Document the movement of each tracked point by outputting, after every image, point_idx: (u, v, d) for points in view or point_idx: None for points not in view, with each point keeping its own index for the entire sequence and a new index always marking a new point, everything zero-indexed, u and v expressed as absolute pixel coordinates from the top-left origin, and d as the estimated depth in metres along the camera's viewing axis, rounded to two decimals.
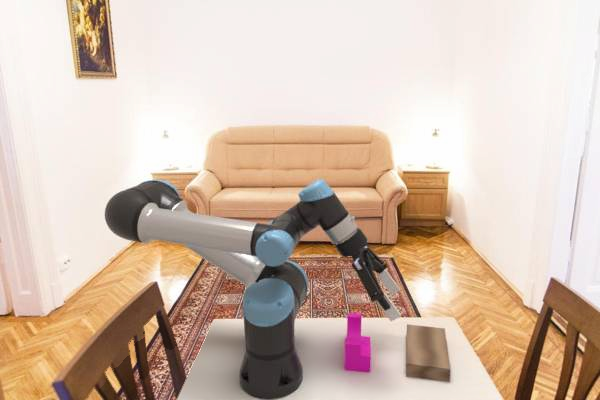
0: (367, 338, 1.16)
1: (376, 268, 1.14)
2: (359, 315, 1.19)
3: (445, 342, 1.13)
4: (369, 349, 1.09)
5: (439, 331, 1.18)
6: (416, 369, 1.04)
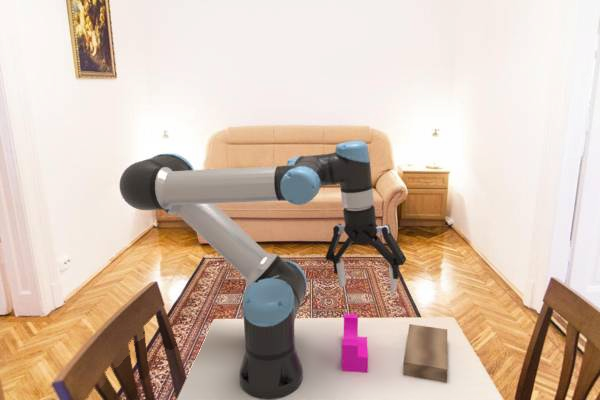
0: (364, 338, 1.16)
1: (341, 255, 1.10)
2: (355, 315, 1.19)
3: (446, 343, 1.12)
4: (366, 349, 1.09)
5: (442, 331, 1.18)
6: (413, 368, 1.05)
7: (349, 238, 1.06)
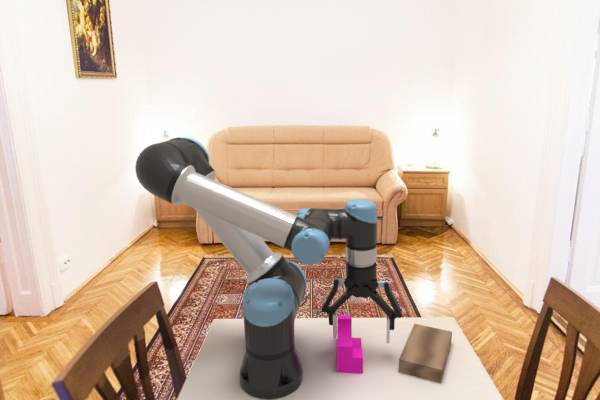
0: (358, 339, 1.16)
1: None
2: (349, 316, 1.19)
3: (447, 344, 1.12)
4: (361, 350, 1.09)
5: (446, 333, 1.17)
6: (408, 365, 1.06)
7: (350, 292, 1.09)
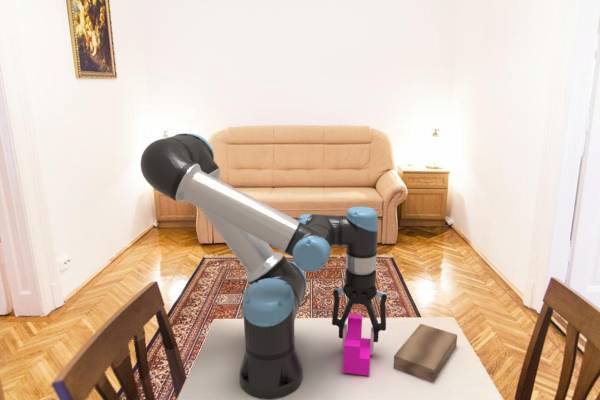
0: (368, 340, 1.14)
1: (346, 318, 1.13)
2: (360, 316, 1.17)
3: (447, 346, 1.11)
4: (369, 351, 1.07)
5: (450, 335, 1.16)
6: (402, 363, 1.07)
7: (351, 300, 1.10)
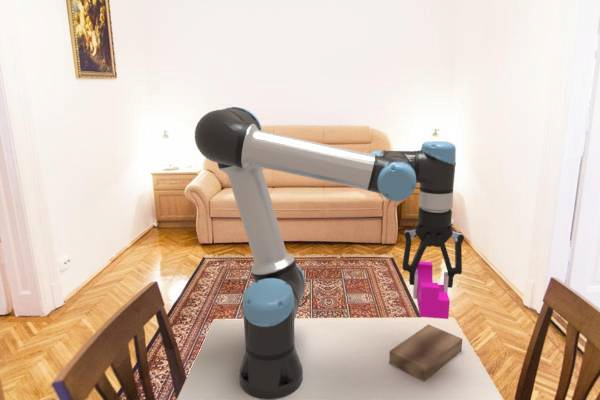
0: (440, 286, 1.08)
1: None
2: (429, 263, 1.11)
3: (447, 349, 1.10)
4: (446, 294, 1.01)
5: (454, 339, 1.14)
6: (397, 359, 1.08)
7: (424, 242, 1.04)
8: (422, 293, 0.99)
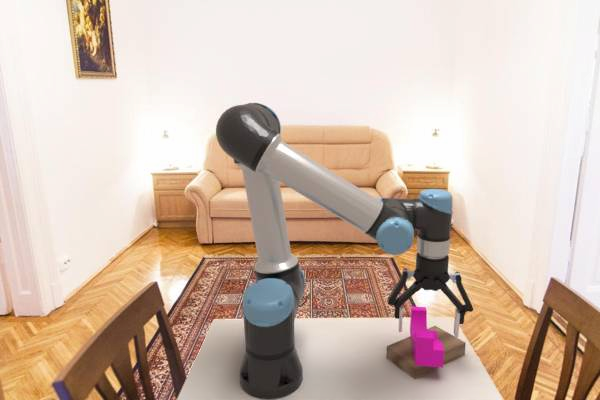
0: (434, 332, 1.12)
1: None
2: (424, 308, 1.15)
3: (446, 350, 1.09)
4: (440, 343, 1.05)
5: (457, 342, 1.13)
6: (392, 354, 1.10)
7: (420, 284, 1.06)
8: (417, 343, 1.02)
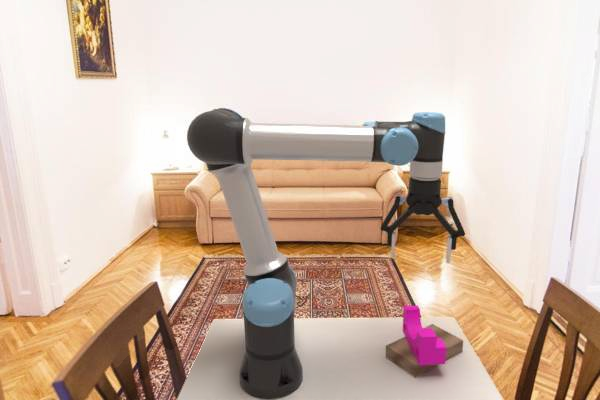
0: (429, 329, 1.13)
1: None
2: (416, 307, 1.16)
3: None
4: (440, 340, 1.06)
5: (454, 340, 1.14)
6: (392, 354, 1.11)
7: (412, 208, 1.07)
8: (421, 343, 1.03)
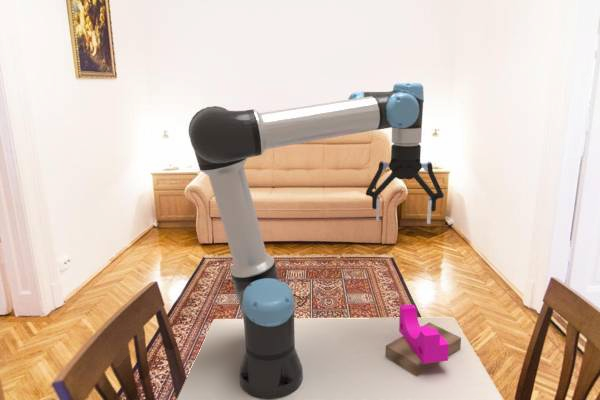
0: (427, 327, 1.14)
1: (381, 190, 1.19)
2: (412, 305, 1.17)
3: None
4: (441, 337, 1.07)
5: (453, 337, 1.15)
6: (392, 353, 1.11)
7: (395, 173, 1.15)
8: (425, 342, 1.03)
